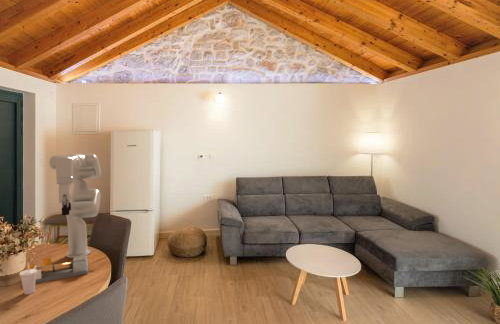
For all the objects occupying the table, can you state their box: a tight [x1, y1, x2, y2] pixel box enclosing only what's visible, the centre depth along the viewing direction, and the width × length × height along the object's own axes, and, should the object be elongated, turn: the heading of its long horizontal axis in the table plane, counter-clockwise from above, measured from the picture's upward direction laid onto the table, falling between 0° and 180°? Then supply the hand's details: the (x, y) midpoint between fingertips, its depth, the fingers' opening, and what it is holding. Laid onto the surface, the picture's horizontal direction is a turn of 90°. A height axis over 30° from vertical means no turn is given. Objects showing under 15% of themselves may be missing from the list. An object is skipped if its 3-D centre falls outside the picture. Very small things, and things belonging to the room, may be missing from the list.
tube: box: [37, 261, 73, 274], centre depth 153 cm, size 4×16×4 cm, turn 116°
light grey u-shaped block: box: [33, 264, 43, 280], centre depth 150 cm, size 6×3×5 cm, turn 26°
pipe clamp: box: [25, 256, 53, 270], centre depth 156 cm, size 12×4×6 cm, turn 169°
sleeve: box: [72, 255, 88, 273], centre depth 157 cm, size 6×6×6 cm
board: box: [35, 265, 89, 284], centre depth 154 cm, size 8×24×1 cm, turn 116°
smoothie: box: [18, 262, 37, 295], centre depth 137 cm, size 6×6×14 cm
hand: (66, 212), depth 159 cm, fingers open, 9 cm apart
